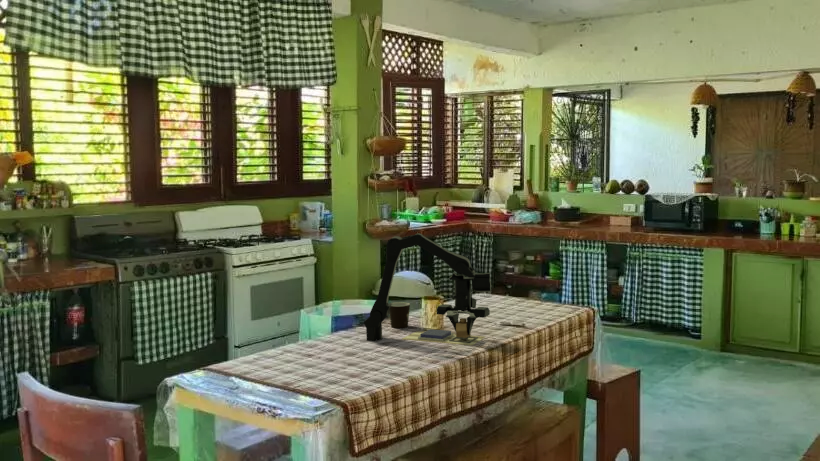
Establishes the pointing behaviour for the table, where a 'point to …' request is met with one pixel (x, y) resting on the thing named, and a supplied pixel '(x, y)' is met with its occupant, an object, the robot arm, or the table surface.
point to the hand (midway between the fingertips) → (463, 334)
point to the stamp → (462, 329)
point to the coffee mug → (399, 315)
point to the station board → (451, 340)
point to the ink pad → (436, 335)
